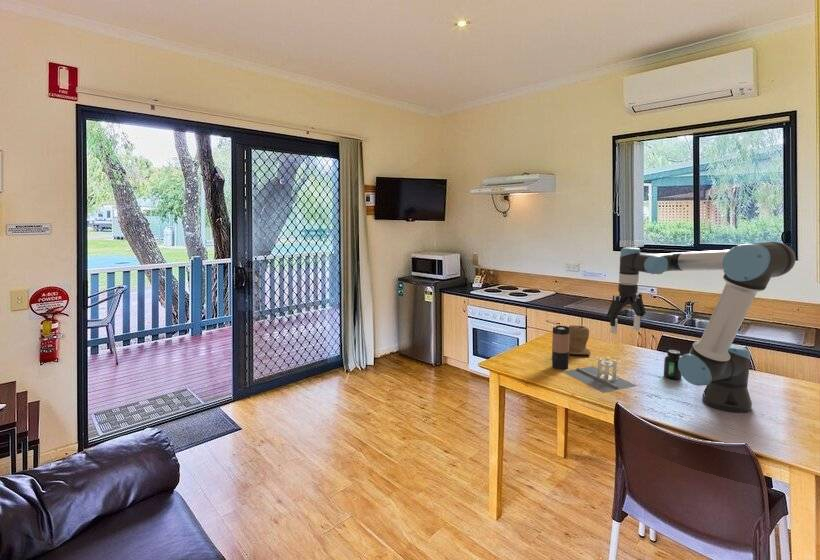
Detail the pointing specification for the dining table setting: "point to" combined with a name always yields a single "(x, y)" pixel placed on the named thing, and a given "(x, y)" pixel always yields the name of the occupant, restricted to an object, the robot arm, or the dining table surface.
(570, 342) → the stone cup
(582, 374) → the board
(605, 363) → the stool
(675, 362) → the supplement bottle
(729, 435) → the dining table surface
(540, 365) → the dining table surface
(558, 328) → the travel mug
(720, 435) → the dining table surface
